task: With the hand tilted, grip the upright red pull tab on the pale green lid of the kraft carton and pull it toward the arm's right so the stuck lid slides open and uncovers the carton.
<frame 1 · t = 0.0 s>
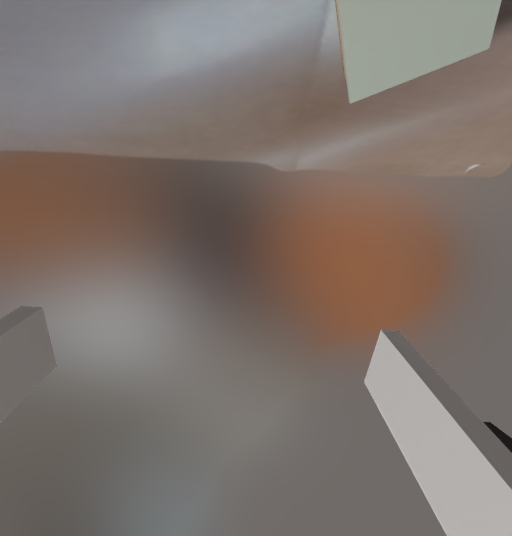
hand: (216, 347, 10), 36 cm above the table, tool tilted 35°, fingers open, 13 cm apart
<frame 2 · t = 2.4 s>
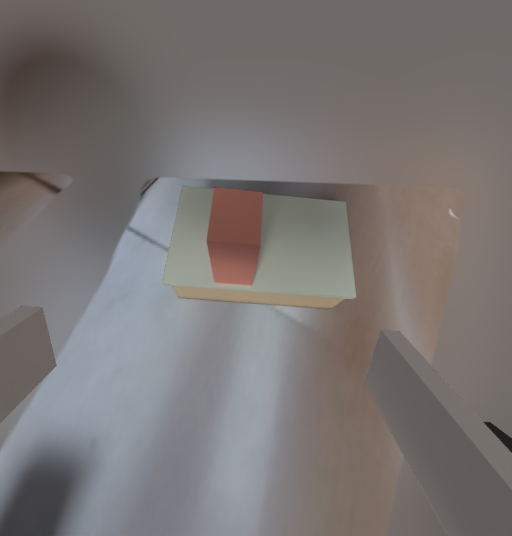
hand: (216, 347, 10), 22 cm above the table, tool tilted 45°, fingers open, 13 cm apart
carton: (258, 262, 36), on the table
lid: (268, 217, 26), point 11 cm above the table, slide at 1.0 cm
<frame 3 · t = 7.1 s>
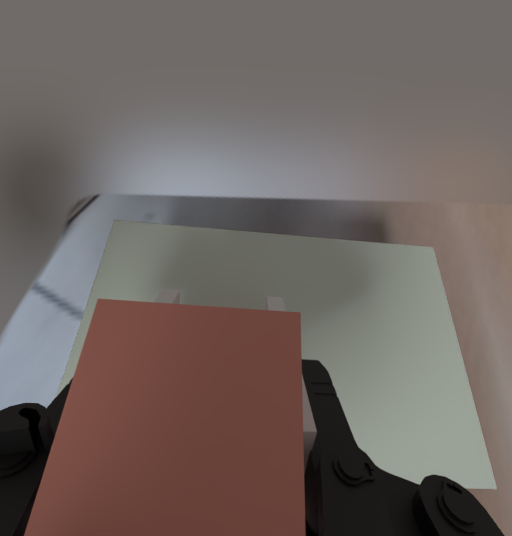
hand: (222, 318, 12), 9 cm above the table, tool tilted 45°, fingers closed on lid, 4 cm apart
lid: (295, 318, 10), point 11 cm above the table, slide at 1.0 cm, touching gripper
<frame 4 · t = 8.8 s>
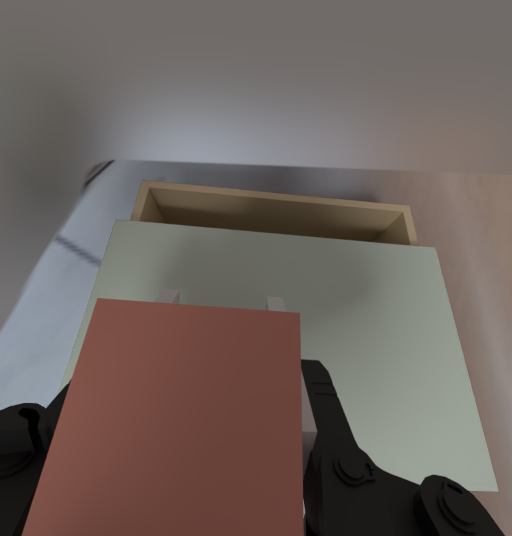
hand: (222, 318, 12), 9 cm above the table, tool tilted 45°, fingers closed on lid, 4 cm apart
carton: (266, 294, 22), on the table
lid: (295, 318, 10), point 11 cm above the table, slide at 5.5 cm, touching gripper
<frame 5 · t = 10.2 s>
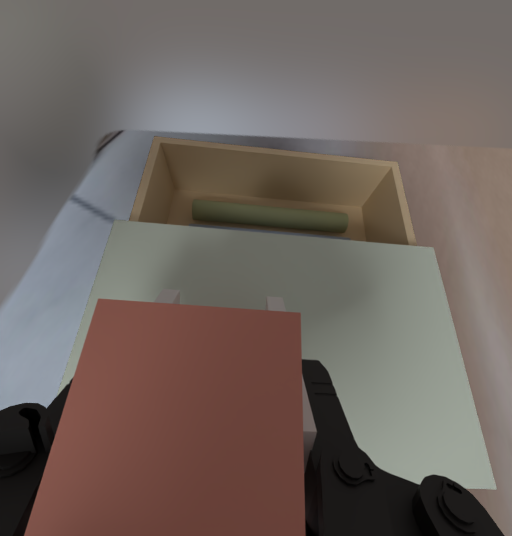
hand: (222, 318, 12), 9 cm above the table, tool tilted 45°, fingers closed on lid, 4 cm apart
carton: (267, 248, 24), on the table
lid: (295, 318, 10), point 11 cm above the table, slide at 10.0 cm, touching gripper
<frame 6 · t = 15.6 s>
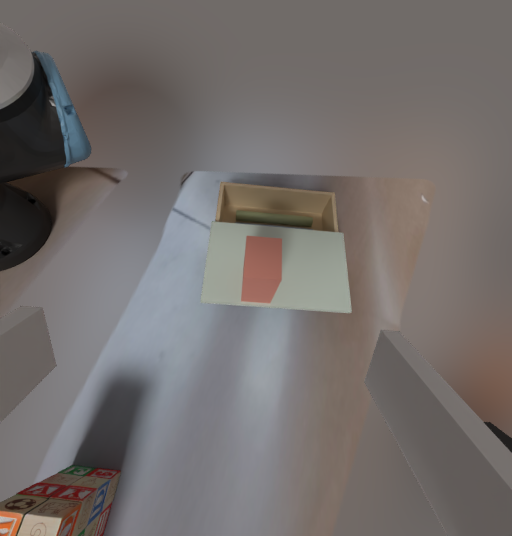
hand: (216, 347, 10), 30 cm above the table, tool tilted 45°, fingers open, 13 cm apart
carton: (272, 234, 47), on the table
lid: (283, 251, 33), point 11 cm above the table, slide at 10.1 cm
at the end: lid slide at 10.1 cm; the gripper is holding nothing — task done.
